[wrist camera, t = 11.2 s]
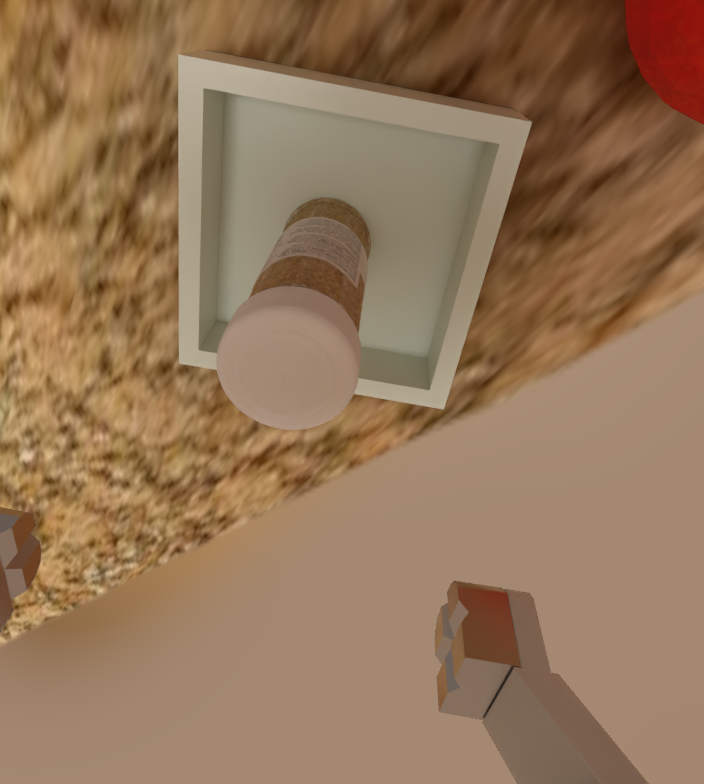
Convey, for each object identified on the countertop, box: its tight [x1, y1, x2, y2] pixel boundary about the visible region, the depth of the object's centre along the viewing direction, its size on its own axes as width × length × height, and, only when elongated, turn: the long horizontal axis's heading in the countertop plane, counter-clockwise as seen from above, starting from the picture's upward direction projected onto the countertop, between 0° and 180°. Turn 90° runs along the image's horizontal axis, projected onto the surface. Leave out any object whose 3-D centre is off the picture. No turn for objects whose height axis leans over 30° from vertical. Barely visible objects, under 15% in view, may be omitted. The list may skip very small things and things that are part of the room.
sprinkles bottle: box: [216, 197, 371, 430], centre depth 24 cm, size 5×5×14 cm
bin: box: [178, 50, 532, 409], centre depth 28 cm, size 14×14×4 cm
